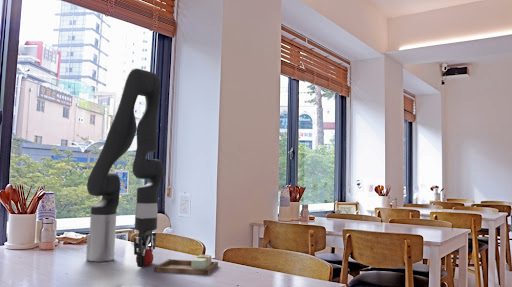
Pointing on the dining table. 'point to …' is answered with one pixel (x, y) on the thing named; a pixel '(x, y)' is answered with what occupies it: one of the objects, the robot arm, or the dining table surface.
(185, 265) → the tray
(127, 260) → the dining table surface
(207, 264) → the oak block
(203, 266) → the sage block
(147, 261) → the onion
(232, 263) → the dining table surface
